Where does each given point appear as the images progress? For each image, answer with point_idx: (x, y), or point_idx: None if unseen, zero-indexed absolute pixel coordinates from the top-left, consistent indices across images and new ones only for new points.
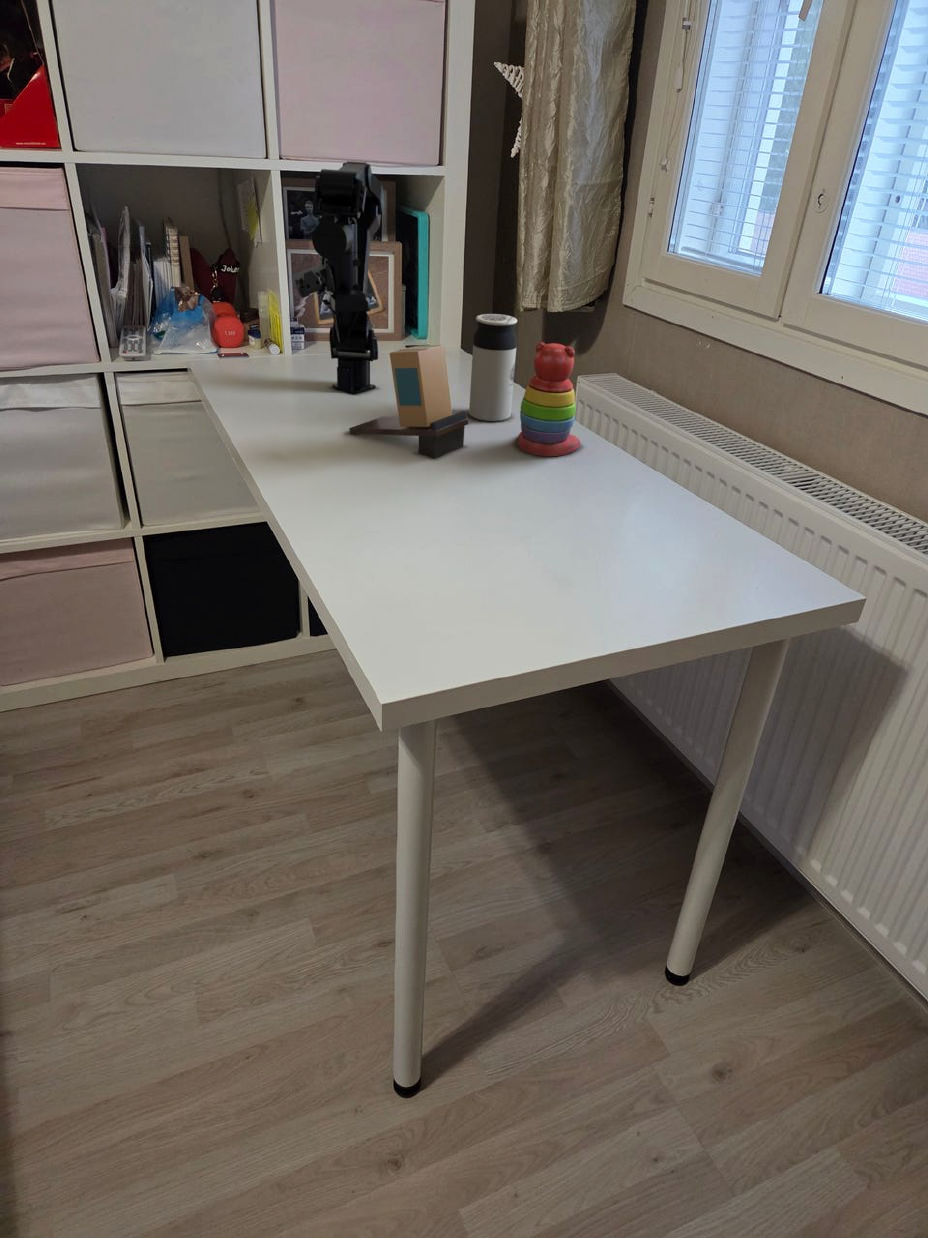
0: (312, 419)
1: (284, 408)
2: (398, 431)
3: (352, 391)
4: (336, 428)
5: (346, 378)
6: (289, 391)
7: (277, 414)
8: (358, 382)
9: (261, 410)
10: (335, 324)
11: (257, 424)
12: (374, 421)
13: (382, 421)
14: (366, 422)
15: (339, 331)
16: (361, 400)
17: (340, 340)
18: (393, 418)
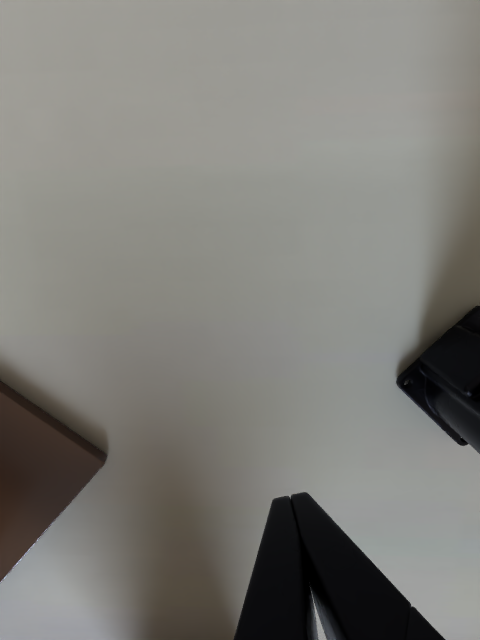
0: (105, 238)
1: (229, 123)
2: None
3: (406, 373)
4: (20, 320)
5: (442, 373)
6: (454, 137)
7: (149, 96)
8: (439, 405)
9: (196, 19)
10: (337, 615)
11: (6, 10)
12: (32, 444)
13: (11, 471)
14: (32, 419)
15: (251, 589)
16: (329, 397)
17: (267, 518)
18: (43, 501)
